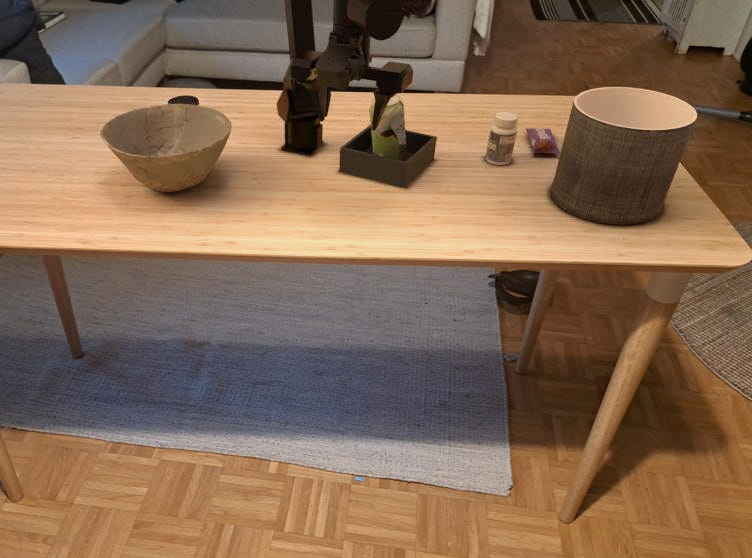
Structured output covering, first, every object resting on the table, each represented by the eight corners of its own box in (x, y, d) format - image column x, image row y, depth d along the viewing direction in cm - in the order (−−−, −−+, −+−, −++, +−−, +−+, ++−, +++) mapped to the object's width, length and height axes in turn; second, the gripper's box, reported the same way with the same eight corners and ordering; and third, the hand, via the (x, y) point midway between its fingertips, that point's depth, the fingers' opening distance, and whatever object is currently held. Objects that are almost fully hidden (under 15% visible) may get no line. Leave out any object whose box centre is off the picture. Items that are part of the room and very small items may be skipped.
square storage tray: (339, 171, 125) (339, 147, 122) (371, 145, 133) (372, 122, 130) (405, 188, 120) (407, 163, 117) (434, 160, 128) (437, 136, 125)
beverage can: (411, 166, 125) (418, 100, 117) (374, 172, 123) (379, 106, 115) (396, 152, 129) (402, 88, 122) (360, 158, 128) (364, 94, 120)
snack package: (526, 123, 136) (551, 124, 135) (523, 133, 137) (549, 134, 136) (534, 147, 127) (562, 148, 126) (532, 157, 128) (559, 158, 128)
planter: (673, 229, 108) (713, 132, 97) (557, 222, 110) (583, 126, 100) (647, 179, 121) (679, 89, 110) (544, 173, 123) (566, 84, 113)
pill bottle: (481, 155, 129) (489, 111, 124) (506, 154, 130) (515, 110, 124) (489, 166, 126) (497, 121, 120) (514, 164, 126) (524, 120, 120)
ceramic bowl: (182, 144, 135) (176, 94, 129) (261, 180, 123) (258, 126, 116) (86, 181, 124) (73, 127, 117) (161, 225, 111) (152, 168, 105)
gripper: (271, 29, 99) (274, 133, 109) (393, 44, 92) (384, 154, 102) (304, 10, 106) (304, 110, 116) (419, 23, 100) (408, 127, 110)
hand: (347, 125), depth 111 cm, fingers open, 9 cm apart
